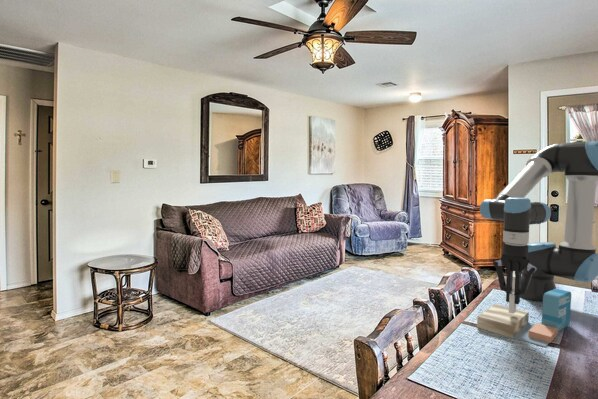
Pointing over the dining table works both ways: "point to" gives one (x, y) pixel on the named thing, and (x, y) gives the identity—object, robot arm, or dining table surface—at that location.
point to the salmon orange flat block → (543, 332)
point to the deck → (502, 320)
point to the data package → (556, 308)
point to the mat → (524, 337)
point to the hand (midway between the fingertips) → (512, 312)
